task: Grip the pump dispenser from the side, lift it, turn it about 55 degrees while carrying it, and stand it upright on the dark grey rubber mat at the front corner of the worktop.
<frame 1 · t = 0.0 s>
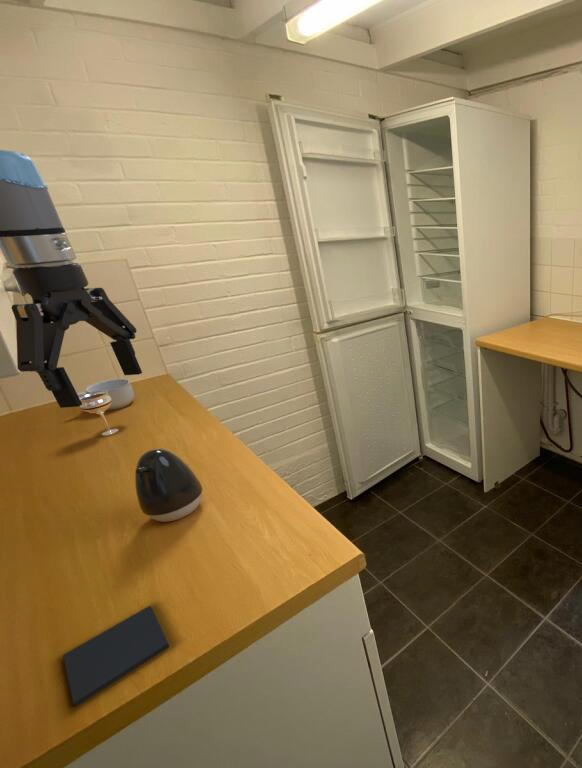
hand: (105, 389, 73), 30 cm above the kitchen counter, tool pointing down, fingers open, 13 cm apart
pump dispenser: (179, 513, 88), on the kitchen counter
teacup: (111, 408, 136), on the kitchen counter
wineglass: (110, 433, 121), on the kitchen counter
mat: (118, 653, 60), on the kitchen counter
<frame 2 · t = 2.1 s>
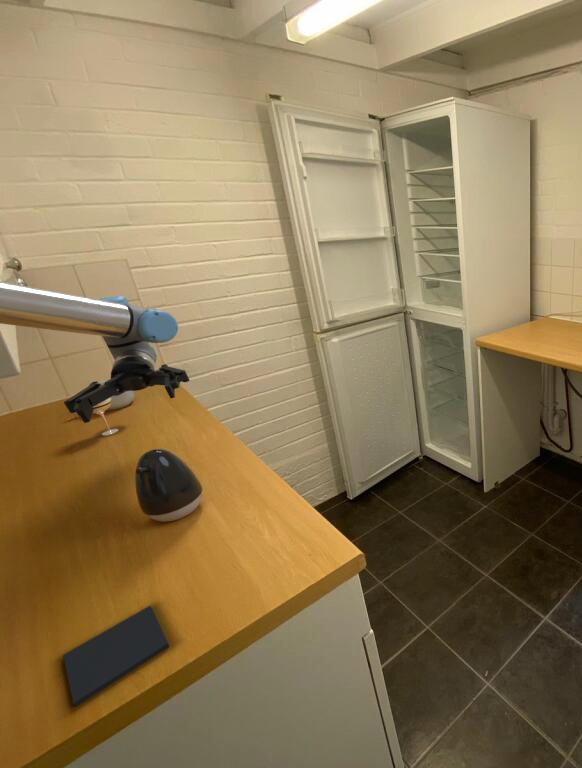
hand: (128, 404, 83), 23 cm above the kitchen counter, tool horizontal, fingers open, 13 cm apart
nothing on the kitchen counter moved.
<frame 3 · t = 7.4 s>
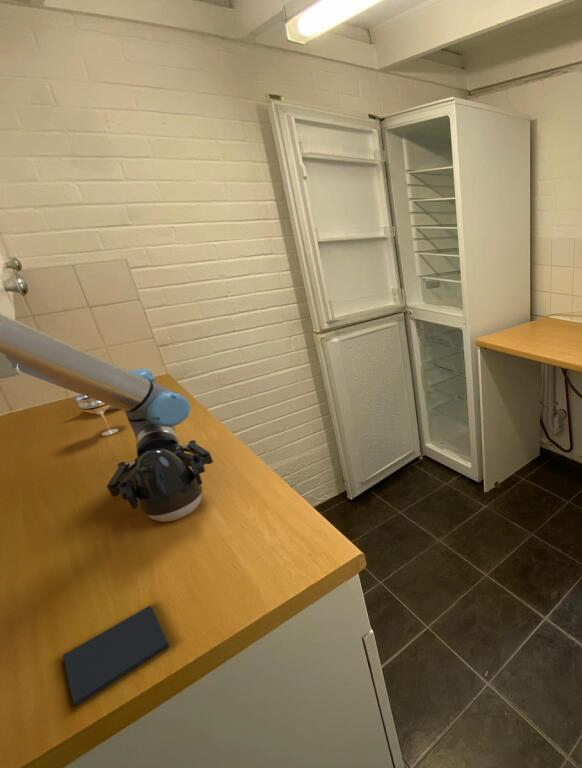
hand: (166, 490, 81), 8 cm above the kitchen counter, tool horizontal, fingers closed on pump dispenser, 10 cm apart
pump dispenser: (179, 513, 88), on the kitchen counter, touching gripper
everything else where it was.
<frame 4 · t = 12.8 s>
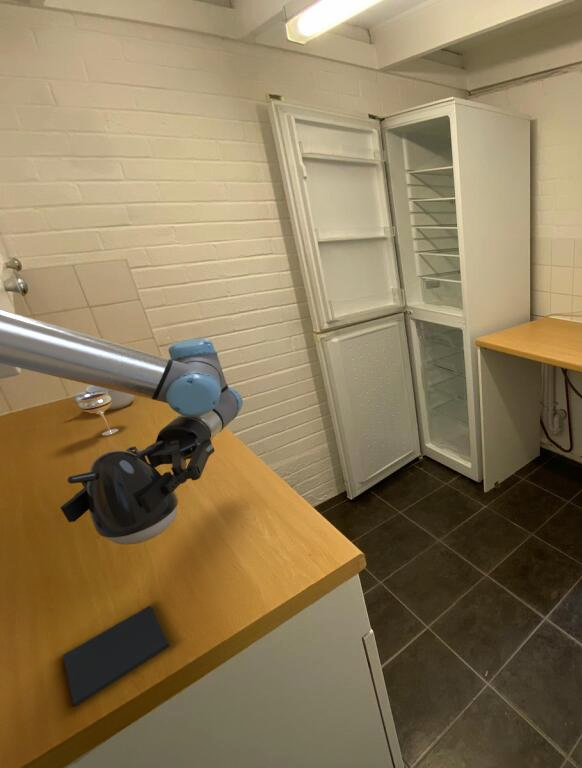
hand: (106, 509, 61), 18 cm above the kitchen counter, tool horizontal, fingers closed on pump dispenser, 10 cm apart
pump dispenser: (148, 532, 69), point 10 cm above the kitchen counter, touching gripper
everything else where it was.
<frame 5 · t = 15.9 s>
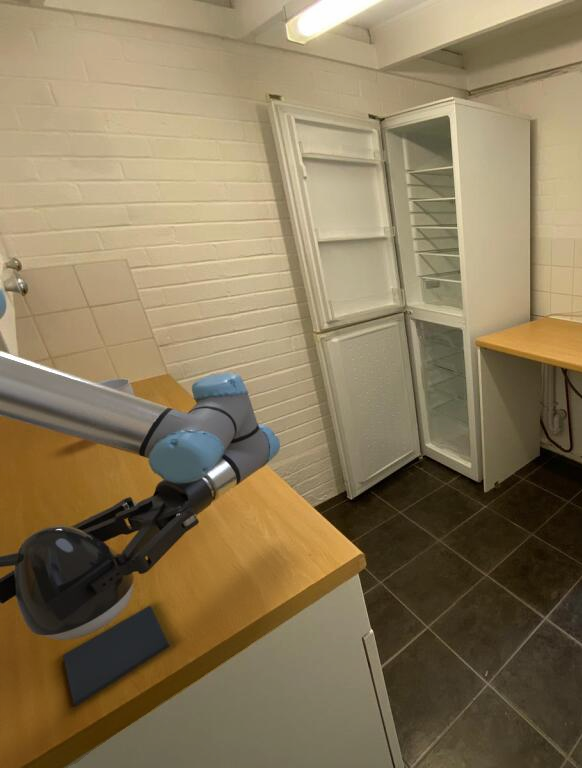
hand: (23, 603, 50), 16 cm above the kitchen counter, tool horizontal, fingers closed on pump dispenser, 10 cm apart
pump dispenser: (96, 619, 57), point 7 cm above the kitchen counter, touching gripper
everything else where it was.
when the fingers open (9 cm above the kitchen counter, at t = 18.2 s): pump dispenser stays where it is, resting on mat.
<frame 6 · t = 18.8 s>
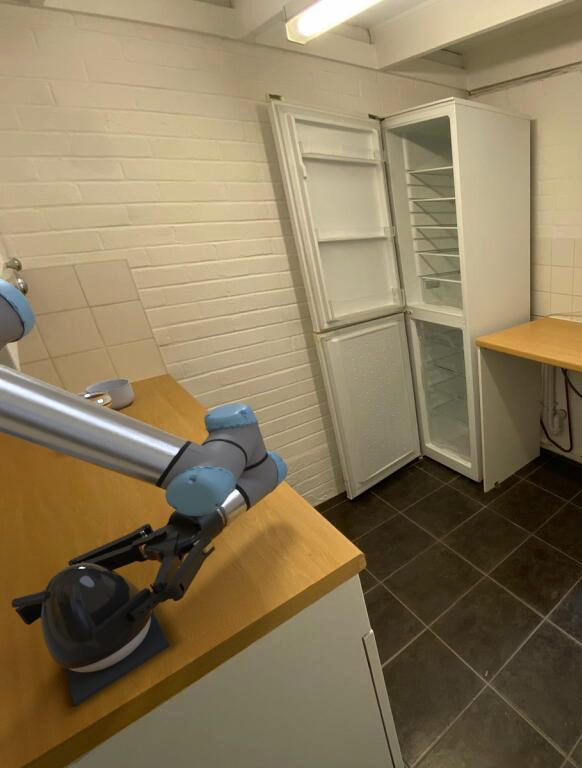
hand: (58, 628, 53), 10 cm above the kitchen counter, tool horizontal, fingers open, 13 cm apart
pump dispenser: (116, 649, 59), point 1 cm above the kitchen counter, touching mat
everything else where it was.
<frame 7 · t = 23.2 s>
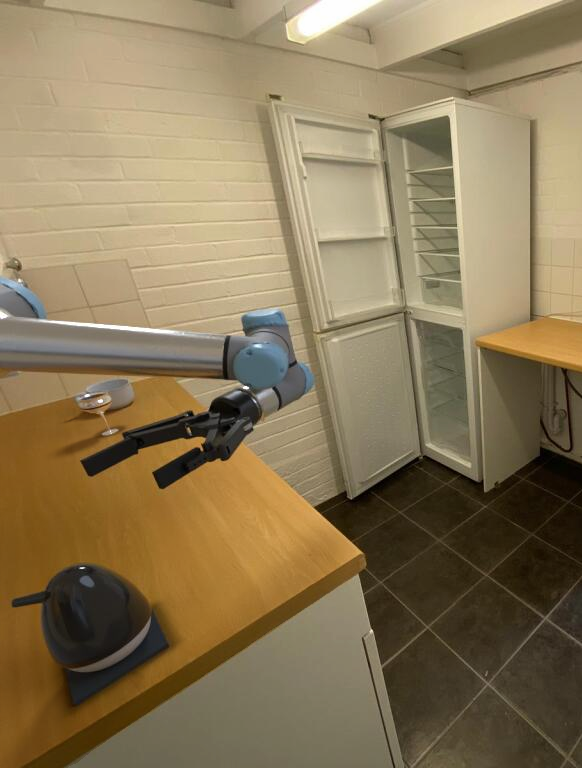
hand: (120, 474, 59), 24 cm above the kitchen counter, tool horizontal, fingers open, 13 cm apart
nothing on the kitchen counter moved.
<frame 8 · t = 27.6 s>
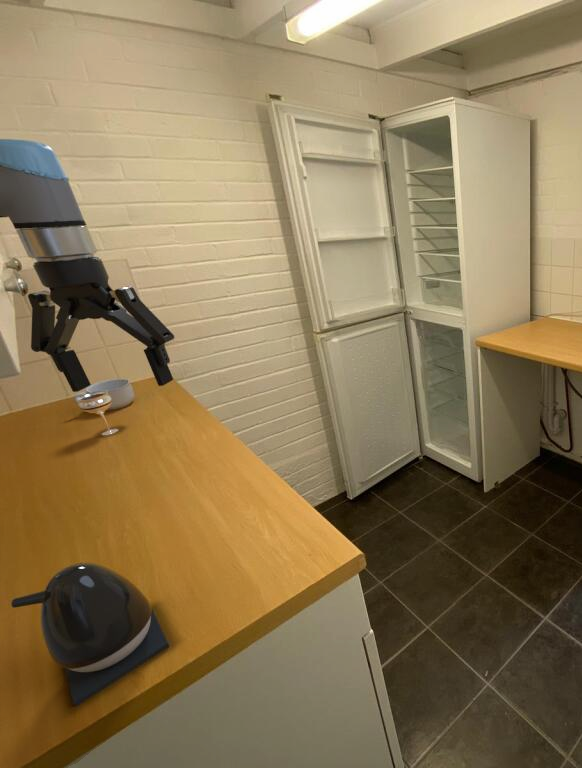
hand: (124, 385, 72), 31 cm above the kitchen counter, tool pointing down, fingers open, 13 cm apart
nothing on the kitchen counter moved.
at the end: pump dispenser inside the target area on the mat (0.0 cm from its centre), point 0.8 cm above the mat's base; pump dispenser tilted 0°; the gripper is holding nothing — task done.
